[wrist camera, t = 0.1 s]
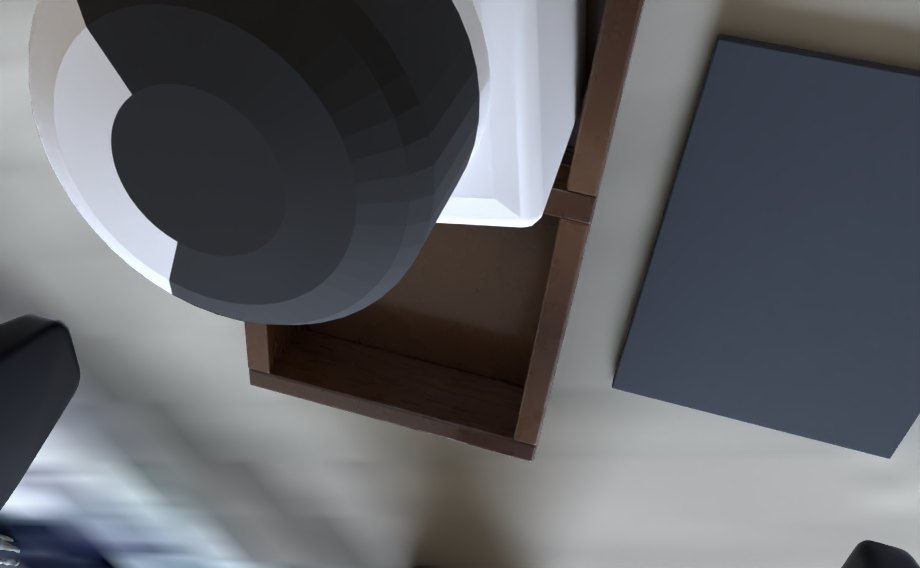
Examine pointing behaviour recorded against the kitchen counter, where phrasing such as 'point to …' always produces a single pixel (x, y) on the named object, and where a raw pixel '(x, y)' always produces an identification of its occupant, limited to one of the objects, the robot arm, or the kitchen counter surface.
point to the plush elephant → (7, 546)
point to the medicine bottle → (301, 135)
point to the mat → (790, 251)
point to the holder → (470, 299)
